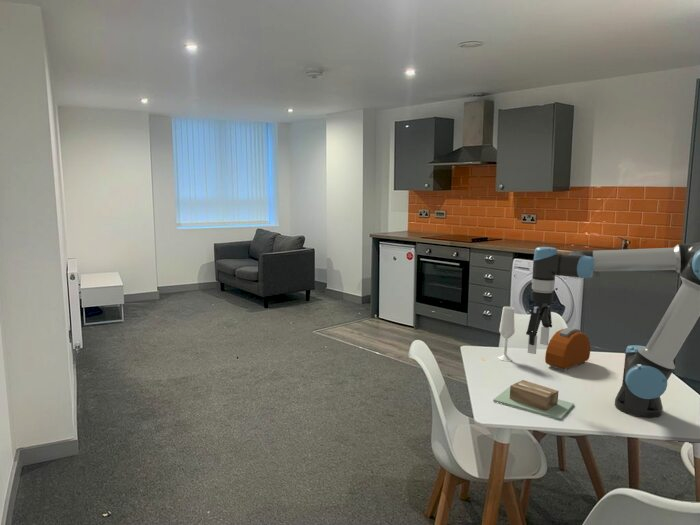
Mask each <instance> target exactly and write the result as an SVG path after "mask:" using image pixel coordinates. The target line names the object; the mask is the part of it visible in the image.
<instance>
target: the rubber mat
mask: <svg viewBox="0 0 700 525" xmlns="http://www.w3.org/2000/svg"><path fill="white" fill-rule="evenodd" d="M493 401H495V402H494V403H497V402H498V404H500V403H502V405H504V404H505V405H504V406H508V407H511V406H512V408H515V409H518V408H519V410H523V411H525V412H526V411H527V412H528V413H529V412H530V413H533V414H537V415H539V416H540V415H541V416H544V417H548V418H551V419H555V420H558V421H562V420H563V419H564V417H565V416H566V415H567V414H568V412H570V410H571V409H572V408H573V407H574V406H575V404H574V402H569V401H566V400H563V399H559V398H558V404H557V405H555V406H553V407H552V408H550V409H548V410H546V411H544V410H541V409H538V408H535V407H532V406H530V405H527V404H524V403H521V402H518V401H515V400H512V399H510V386H508V387H507V388H506V389H505V390H504V391H502V392H501V393H499V395H497V396H496V397H494V398H493Z"/></svg>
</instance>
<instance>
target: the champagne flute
mask: <svg viewBox="0 0 700 525" xmlns="http://www.w3.org/2000/svg"><path fill="white" fill-rule="evenodd" d="M515 328H516V327H515V308H514V307H512V306H503V307H502V312H501V319H500V324H499V330H498V331H499V334H500V336H502V337H503V338H504V347H503V350H504V351H503V354H502V355H500V356H497V358H499V359H501V360H505V361H504V362H512V361H513V359H512V358H511V357H510V356H509V355H508V341H509V340H508V339H511V338H512V337H513V336H514V334H515V331H516V330H515ZM499 359H498V360H499ZM501 360H500V361H501ZM511 360H512V361H511Z"/></svg>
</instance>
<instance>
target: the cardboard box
mask: <svg viewBox="0 0 700 525" xmlns="http://www.w3.org/2000/svg"><path fill="white" fill-rule="evenodd" d="M509 387H510V399H512V400H515V401H518V402H521V403H524V404H527V405H530V406H532V407H535V408H538V409H541V410H544V411H546V410H548V409H550V408H552V407H553V406H555V405H557V404H558V399H559V390H557V389H554V388H550V387H547V386H543V385H540V384H537V383H534V382H531V381H528V380H524V379H522V380H519V381H517V382H515V383H513V384H511V385H510V386H509Z"/></svg>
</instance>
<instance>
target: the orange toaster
mask: <svg viewBox="0 0 700 525" xmlns="http://www.w3.org/2000/svg"><path fill="white" fill-rule="evenodd" d="M590 342H591V341H590V339H589V337H588V336H587V335H586V334H585V333H583V332H582V331H581V329H578V328H573V327H565V328H561V329H559V330H557V331H556V332H555V333H554V334H553V335H552V336H551V338H550V340H549V341H548V345H547V347H546V351H545V356H544V358H545V359H544V360H545V363H546V365H548V366H549V367H552V368H555V369H559V370H562V371H565V372H566V371H568V369H569V368H572V367H574V366H577V365H580V364H583V365H585V364H586V362H588V361H589V359H590V357H591V356H590V355H591V344H590Z"/></svg>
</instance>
